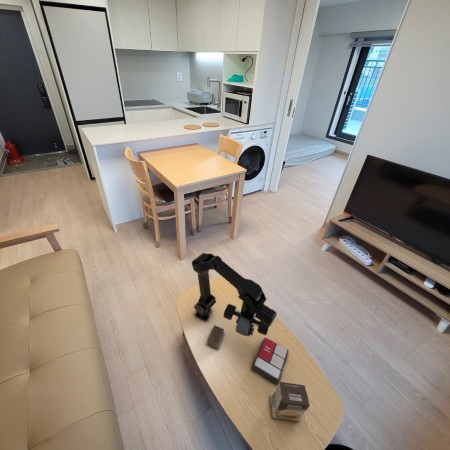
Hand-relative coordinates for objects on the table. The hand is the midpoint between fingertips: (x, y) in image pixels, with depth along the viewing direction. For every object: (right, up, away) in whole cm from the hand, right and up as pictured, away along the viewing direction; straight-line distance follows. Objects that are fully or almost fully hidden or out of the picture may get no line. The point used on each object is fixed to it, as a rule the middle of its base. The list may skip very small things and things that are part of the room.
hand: (243, 329), depth 102 cm
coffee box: (+13, -25, -14) cm, 31 cm away
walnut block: (-12, -8, +8) cm, 17 cm away
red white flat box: (+12, -14, 0) cm, 19 cm away
